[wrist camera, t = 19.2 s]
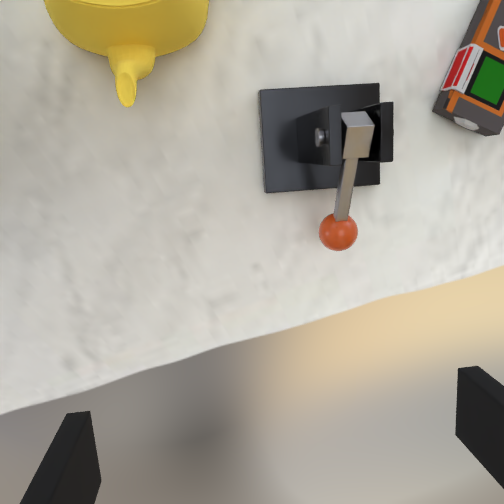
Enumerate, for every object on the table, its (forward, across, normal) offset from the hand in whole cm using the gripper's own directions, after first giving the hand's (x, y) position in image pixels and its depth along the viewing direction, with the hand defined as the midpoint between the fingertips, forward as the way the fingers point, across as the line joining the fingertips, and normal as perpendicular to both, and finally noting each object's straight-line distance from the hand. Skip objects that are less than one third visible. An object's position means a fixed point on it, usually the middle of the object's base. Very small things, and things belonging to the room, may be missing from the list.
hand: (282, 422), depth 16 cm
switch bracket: (+33, +10, +10) cm, 36 cm away
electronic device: (+33, +28, +17) cm, 46 cm away
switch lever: (+26, +10, +6) cm, 28 cm away
